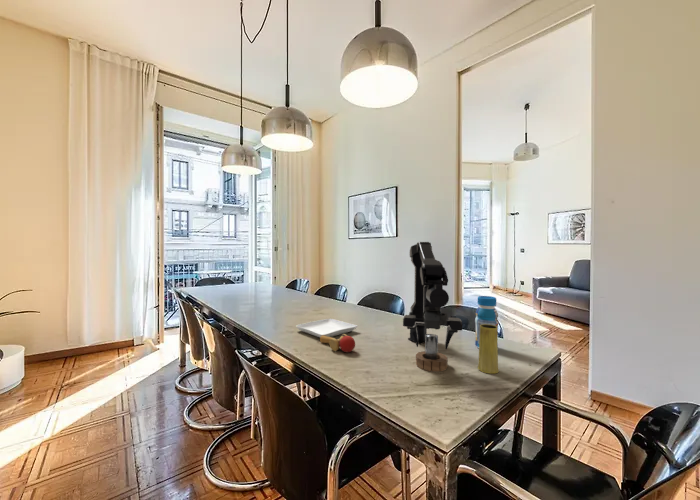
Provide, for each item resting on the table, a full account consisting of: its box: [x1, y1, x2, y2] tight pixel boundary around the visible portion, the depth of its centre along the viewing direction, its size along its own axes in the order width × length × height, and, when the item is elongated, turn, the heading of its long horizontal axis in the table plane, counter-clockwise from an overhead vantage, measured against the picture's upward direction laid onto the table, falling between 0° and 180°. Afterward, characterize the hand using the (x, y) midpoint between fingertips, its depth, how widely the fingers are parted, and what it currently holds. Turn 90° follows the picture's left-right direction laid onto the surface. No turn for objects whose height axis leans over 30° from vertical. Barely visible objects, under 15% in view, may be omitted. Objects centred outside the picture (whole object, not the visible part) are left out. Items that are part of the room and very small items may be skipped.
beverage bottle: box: [474, 295, 499, 349], centre depth 119 cm, size 8×8×20 cm
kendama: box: [319, 333, 356, 353], centre depth 119 cm, size 8×6×18 cm
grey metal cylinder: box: [424, 333, 439, 360], centre depth 101 cm, size 4×4×10 cm
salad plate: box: [295, 317, 358, 338], centre depth 140 cm, size 21×21×3 cm
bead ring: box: [415, 350, 449, 372], centre depth 102 cm, size 10×10×3 cm
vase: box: [477, 324, 500, 375], centre depth 98 cm, size 6×6×14 cm
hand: (431, 347), depth 101 cm, fingers open, 9 cm apart
